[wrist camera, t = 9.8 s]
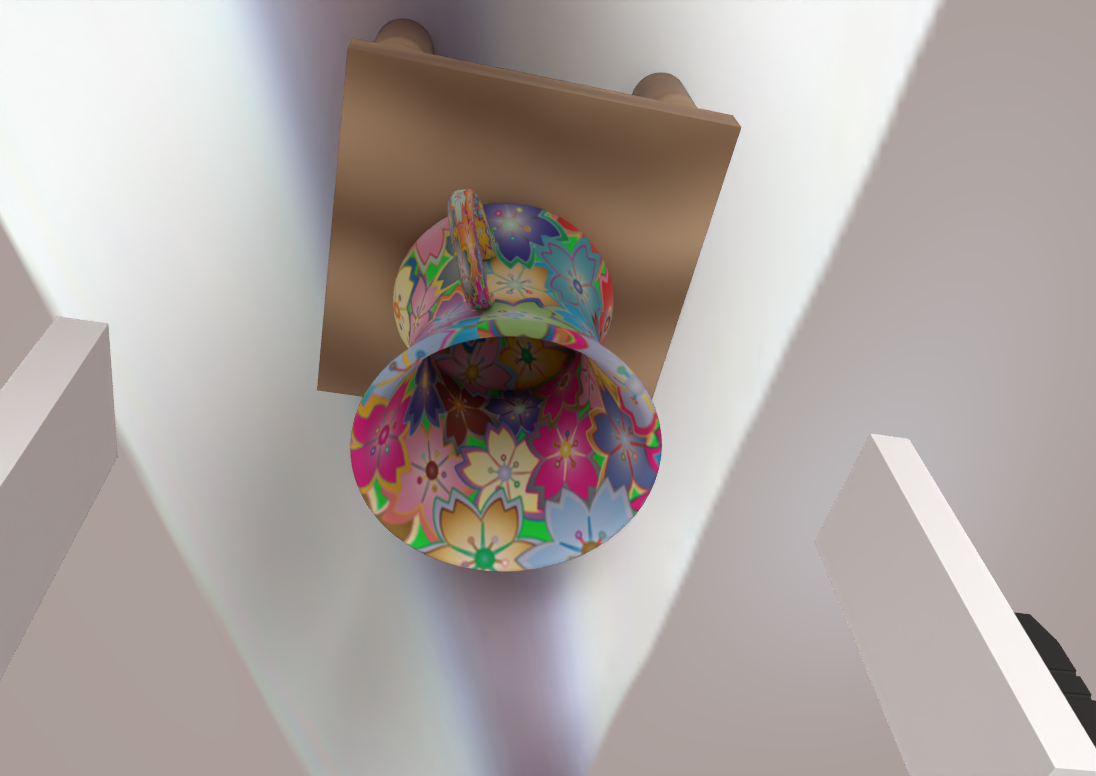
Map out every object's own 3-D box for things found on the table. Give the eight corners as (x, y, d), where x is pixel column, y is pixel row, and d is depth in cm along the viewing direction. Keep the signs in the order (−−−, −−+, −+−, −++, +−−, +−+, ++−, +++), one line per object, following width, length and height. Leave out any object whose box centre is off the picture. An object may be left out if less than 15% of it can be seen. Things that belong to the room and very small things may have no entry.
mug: (632, 373, 38) (674, 550, 30) (416, 408, 39) (393, 592, 30) (596, 88, 32) (637, 206, 23) (336, 134, 32) (277, 266, 23)
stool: (371, 3, 37) (347, 47, 31) (702, 73, 39) (741, 127, 33) (341, 305, 44) (317, 390, 38) (620, 349, 46) (639, 436, 40)
